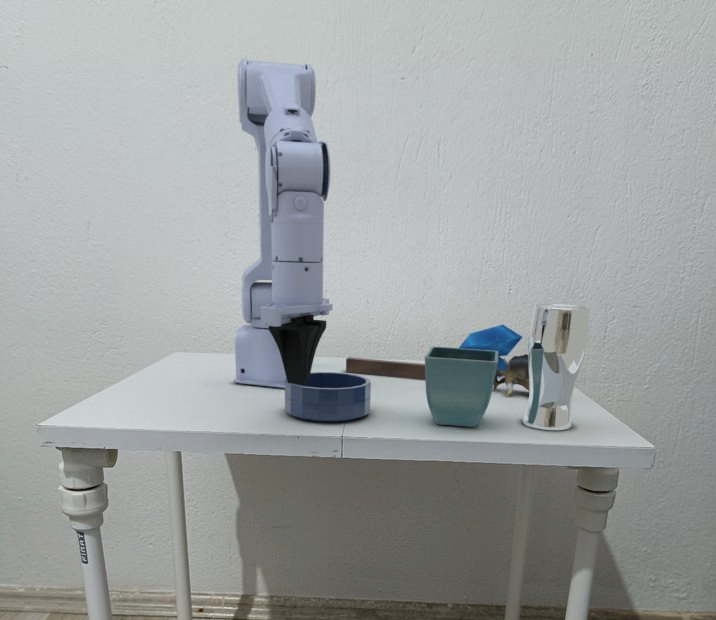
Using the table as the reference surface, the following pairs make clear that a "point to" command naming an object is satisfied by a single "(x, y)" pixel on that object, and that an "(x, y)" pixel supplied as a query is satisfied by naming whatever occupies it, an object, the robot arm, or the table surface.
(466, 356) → the flower pot
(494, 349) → the crystal
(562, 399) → the beer glass
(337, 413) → the bowl
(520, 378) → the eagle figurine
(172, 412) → the table surface
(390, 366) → the rail
